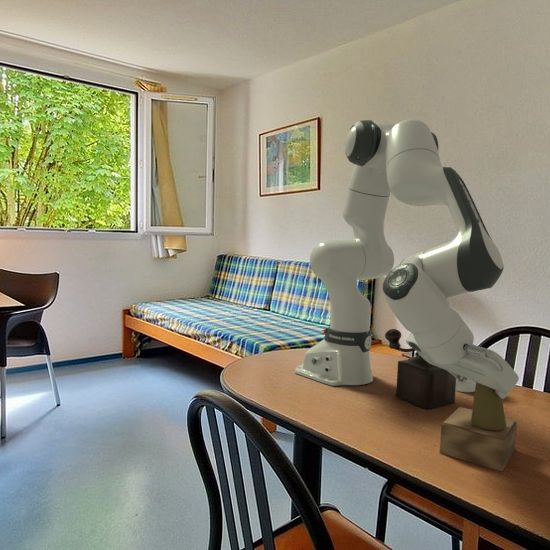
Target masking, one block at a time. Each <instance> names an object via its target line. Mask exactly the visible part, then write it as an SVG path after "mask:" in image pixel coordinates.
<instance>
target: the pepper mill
mask: <svg viewBox="0 0 550 550" xmlns="http://www.w3.org/2000/svg"><path fill="white" fill-rule="evenodd" d="M384 338H385V340H387V341H388V342H389V344H388V348H389V349H392V350H396V351H399V352H403V353H413V352H415V356H411V357H409V358H408V359H402V360H398V362H397V371H396V373H397V374H396V375H397V377H396V388H395V389H396V390H395V391H396V392H395V397H397V398H398V399H400V400H402V401H404V402H406V403H408V404H411V405H412V406H415V407H418V408H420V409H424V410H434V408H435V409H438V408H442V407H445V405H446V406H448V404H449V405H452V404H455V402H456V390H455V388H456V378H455V376H453V375H452V374H451V373H449V372H448V371H447V370H444V369H442V368H439V367H437V366H434V365H432V364H430V363H428V362H427V361H425V360H424V359H423V358H422V357H421V356H420V355H419V354H418V353H417V351H416V350H415V349H413V348H411V347H410V348H403V347H401V346H402V345H401V344H400V340H401V338H402V332H401V331H400V330H399V329H396V328H391V329H389V330H387V331H386V332H385V334H384Z"/></svg>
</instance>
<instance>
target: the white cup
mask: <svg viewBox="0 0 550 550" xmlns="http://www.w3.org/2000/svg"><path fill="white" fill-rule="evenodd" d="M475 386H476V382H475V381H472V380H470V379H467V380H466V382H464V383H463V382H460V381H458V380H457V379H456V388H455V392H459V393H460V392H461V393H475Z"/></svg>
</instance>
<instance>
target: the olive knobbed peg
mask: <svg viewBox="0 0 550 550" xmlns="http://www.w3.org/2000/svg"><path fill="white" fill-rule="evenodd" d="M493 390H494V389H493V388H490V387H488V386H485V385H482V384H480V383H477V382H476V386H475V391H474V395H473V403H472V409H471V410H472V418H471V424H472V425H474V426H475V427H478V428H481V429H487V430H501V429H504V428H506V421H505V418H506V415H505V408H504V403H503V399H502V398H500V397H497V396H496V395H495V394H494V393H493Z"/></svg>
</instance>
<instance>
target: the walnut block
mask: <svg viewBox="0 0 550 550" xmlns="http://www.w3.org/2000/svg"><path fill="white" fill-rule="evenodd" d="M472 410H473V409H472V408H467V407H462V406H459V407H458V408H457V409H456V410H454V411H453V413H451V414H450V416H448V417H447V418H446V419H445V420H444V421H443V422H442V423H441V427H440V438H439V439H440V440H439V441H440V443H439V453H440V454H443V455H446V456H449V457H453V458H455V459H456V458H457V459H460V460H463V461H467V462H470V463H472V464H476V465H479V466H481V467H482V466H483V467H486V468H489V469H493V470H496V471H499V472H504V469H505V468H506V466H507V465H508V463H509V460H510V459H511V457H512V456H513V454H514V452H515V450H516V440H517V427H518V426H517V425H518V422H517V421H516V420H515V419H513V418H509V417H505V421H506V428H504V429H501V430H487V429H481V428H478V427H475V426H474V425H472V424H471V418H472Z"/></svg>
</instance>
